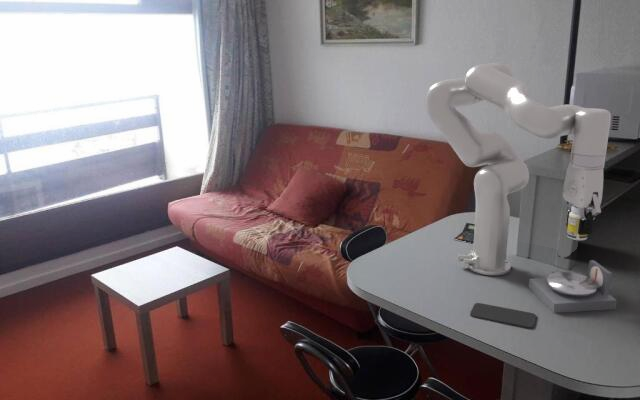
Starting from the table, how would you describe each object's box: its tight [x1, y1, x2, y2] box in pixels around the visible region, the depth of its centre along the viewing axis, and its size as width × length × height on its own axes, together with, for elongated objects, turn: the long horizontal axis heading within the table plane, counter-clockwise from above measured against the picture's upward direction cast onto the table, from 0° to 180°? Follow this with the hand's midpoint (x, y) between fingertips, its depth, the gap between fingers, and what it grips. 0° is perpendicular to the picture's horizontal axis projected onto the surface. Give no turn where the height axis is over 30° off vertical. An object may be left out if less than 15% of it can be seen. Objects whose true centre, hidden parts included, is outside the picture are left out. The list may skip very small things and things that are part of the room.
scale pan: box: [546, 271, 598, 296], centre depth 138 cm, size 12×12×1 cm
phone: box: [469, 302, 537, 330], centre depth 132 cm, size 7×1×15 cm
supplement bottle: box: [567, 205, 590, 241], centre depth 133 cm, size 5×5×8 cm
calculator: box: [454, 222, 475, 244], centre depth 182 cm, size 9×12×3 cm
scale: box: [528, 259, 617, 314], centre depth 138 cm, size 16×14×8 cm
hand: (578, 229), depth 134 cm, fingers closed on supplement bottle, 4 cm apart
